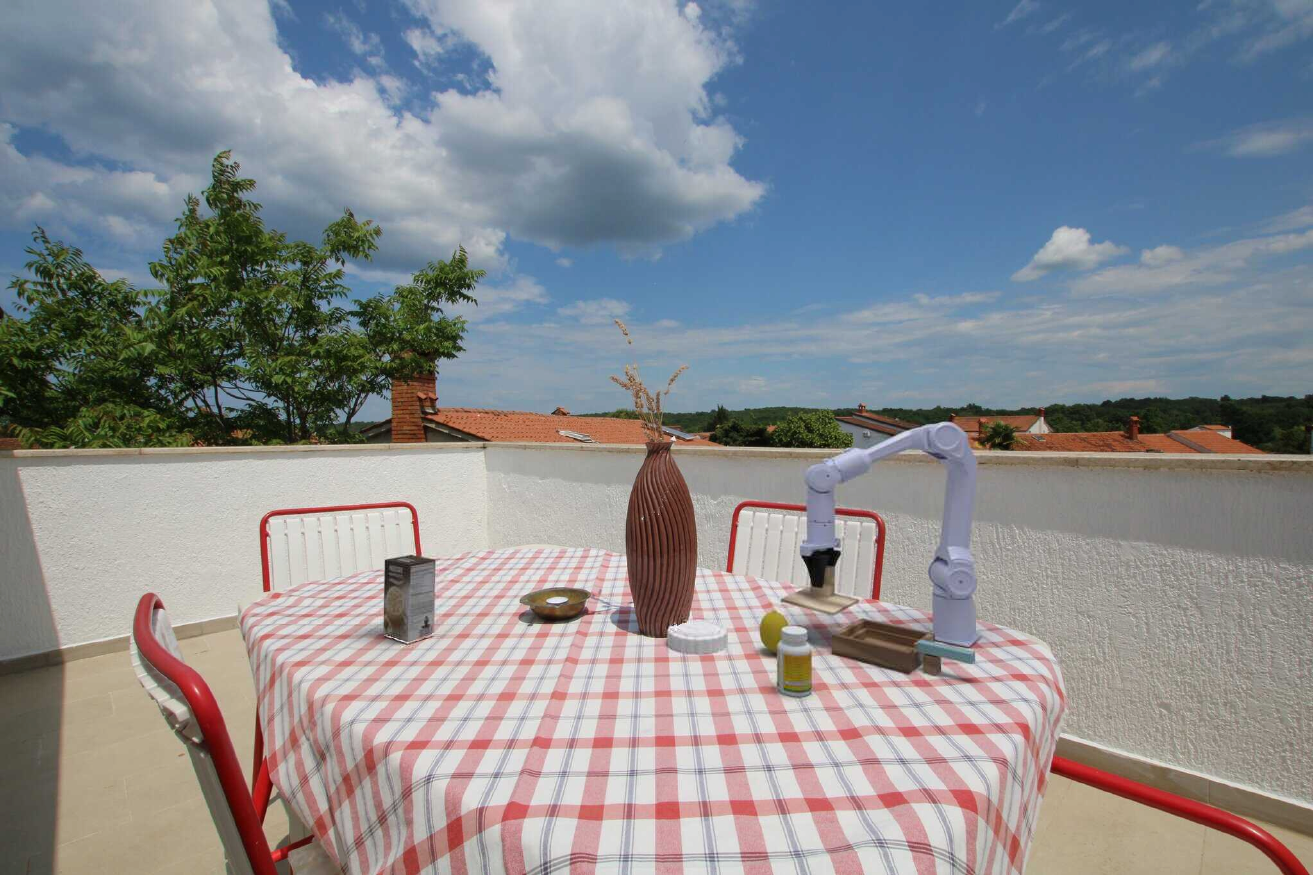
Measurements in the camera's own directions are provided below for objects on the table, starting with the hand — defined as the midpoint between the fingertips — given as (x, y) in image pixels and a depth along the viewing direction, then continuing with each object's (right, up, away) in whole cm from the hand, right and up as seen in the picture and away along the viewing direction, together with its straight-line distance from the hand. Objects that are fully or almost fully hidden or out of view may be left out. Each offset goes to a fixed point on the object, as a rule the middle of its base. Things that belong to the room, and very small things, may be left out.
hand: (821, 585), depth 115 cm
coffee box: (-86, -10, -2) cm, 87 cm away
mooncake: (-27, -10, -7) cm, 29 cm away
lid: (-1, -3, -3) cm, 4 cm away
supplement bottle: (-13, -9, -28) cm, 32 cm away
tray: (+9, -9, -13) cm, 19 cm away
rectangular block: (+14, -6, -22) cm, 27 cm away
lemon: (-13, -10, -12) cm, 20 cm away
